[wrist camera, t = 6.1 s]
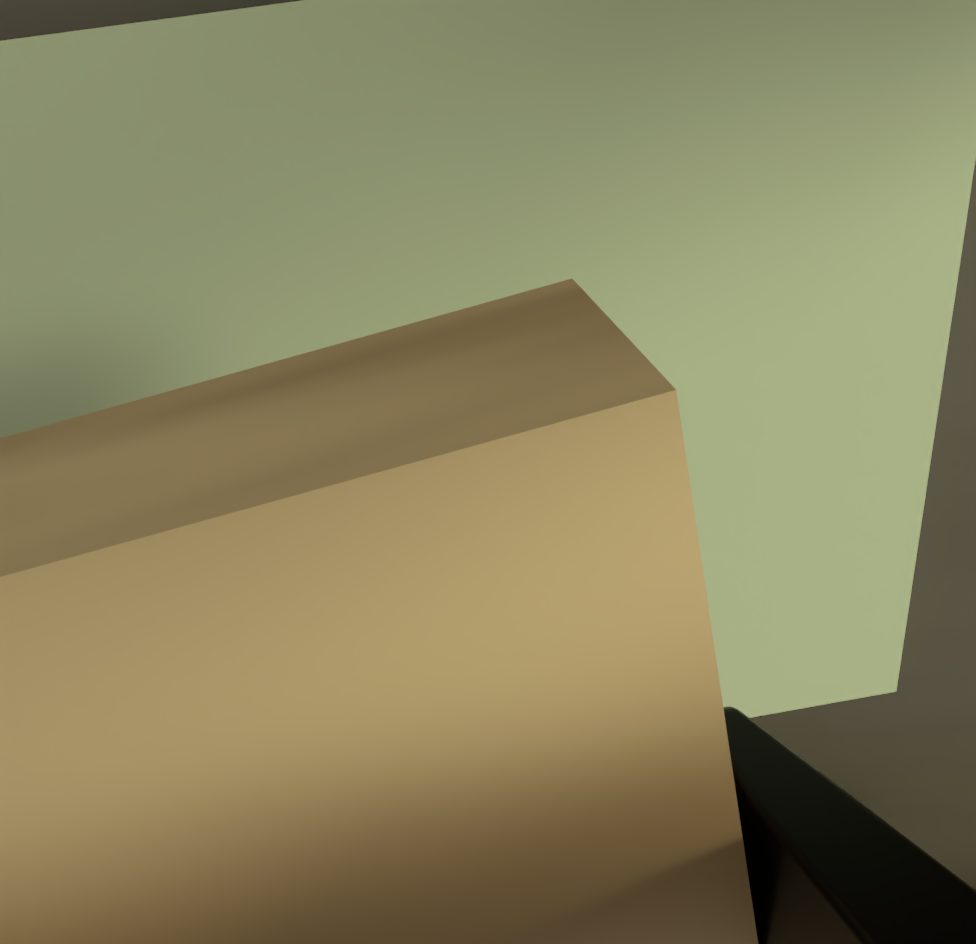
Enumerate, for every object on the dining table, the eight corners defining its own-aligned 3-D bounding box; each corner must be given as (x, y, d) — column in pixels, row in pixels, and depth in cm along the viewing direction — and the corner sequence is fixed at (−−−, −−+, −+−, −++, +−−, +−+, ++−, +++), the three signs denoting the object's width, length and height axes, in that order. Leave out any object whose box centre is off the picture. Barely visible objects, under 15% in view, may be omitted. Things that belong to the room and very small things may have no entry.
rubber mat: (991, -89, 12) (1012, -95, 12) (884, 678, 20) (896, 691, 19) (-439, 103, 12) (-472, 103, 11) (1, 835, 19) (-9, 853, 18)
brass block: (692, 877, 11) (783, 1120, 9) (297, 982, 11) (267, 1255, 9) (572, 277, 7) (675, 389, 5) (-41, 449, 7) (-288, 657, 5)
